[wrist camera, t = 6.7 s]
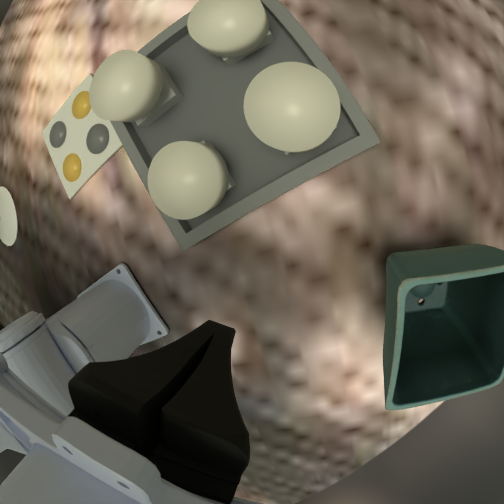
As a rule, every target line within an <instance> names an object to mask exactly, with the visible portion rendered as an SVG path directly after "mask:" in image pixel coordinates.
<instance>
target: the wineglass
mask: <svg viewBox="0 0 504 504" xmlns="http://www.w3.org/2000/svg"><path fill="white" fill-rule="evenodd" d="M16 236H17V216H16V210H15V206H14V202H13V199H12V197H11V195H10V193H9V191H8V190H7V189H6V188H5V187H2V186H1V187H0V239H1V240H2V242H3V243H4V244H6V245H7V246H12V245H13V244H14V242H15V239H16Z"/></svg>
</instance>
